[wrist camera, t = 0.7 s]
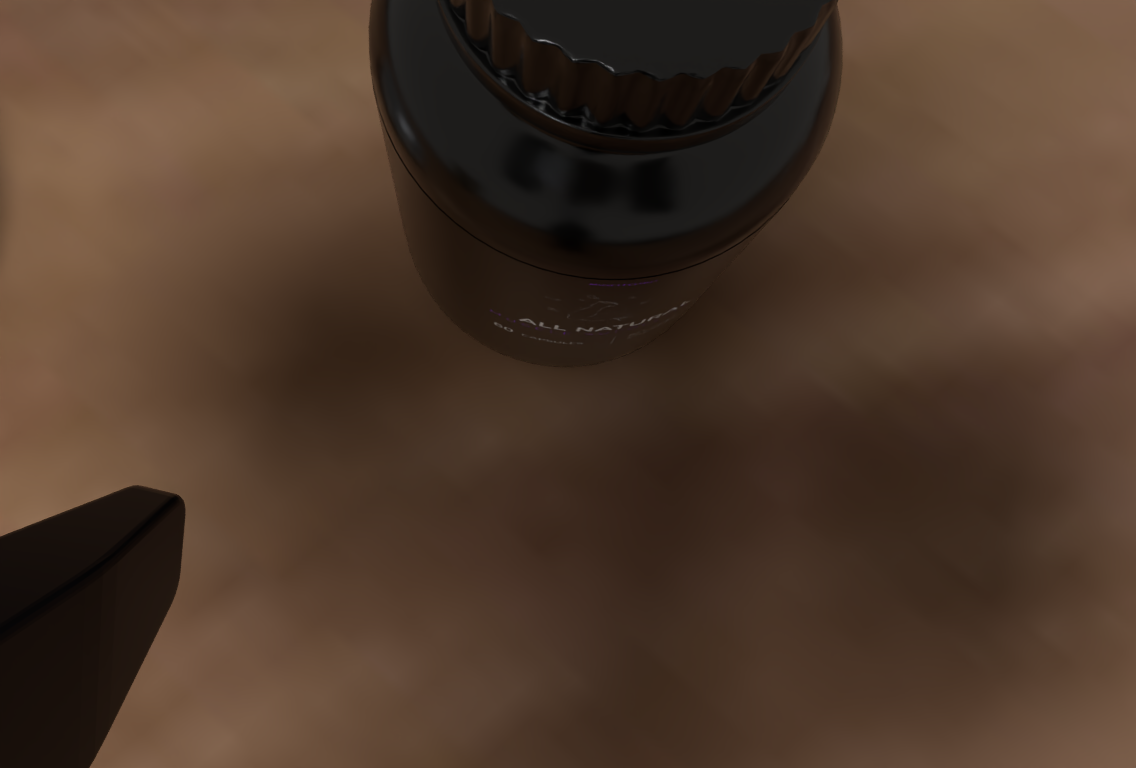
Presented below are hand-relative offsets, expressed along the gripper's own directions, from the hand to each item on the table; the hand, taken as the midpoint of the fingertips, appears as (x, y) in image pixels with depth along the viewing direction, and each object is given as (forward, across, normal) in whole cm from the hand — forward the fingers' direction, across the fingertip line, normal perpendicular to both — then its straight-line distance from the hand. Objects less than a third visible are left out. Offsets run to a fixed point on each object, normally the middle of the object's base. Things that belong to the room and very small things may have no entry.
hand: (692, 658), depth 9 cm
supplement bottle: (+15, +2, +1) cm, 15 cm away
